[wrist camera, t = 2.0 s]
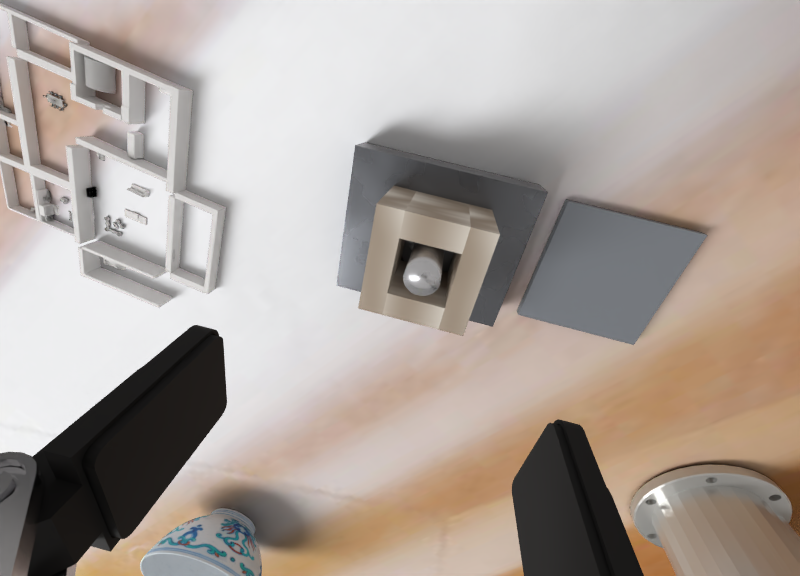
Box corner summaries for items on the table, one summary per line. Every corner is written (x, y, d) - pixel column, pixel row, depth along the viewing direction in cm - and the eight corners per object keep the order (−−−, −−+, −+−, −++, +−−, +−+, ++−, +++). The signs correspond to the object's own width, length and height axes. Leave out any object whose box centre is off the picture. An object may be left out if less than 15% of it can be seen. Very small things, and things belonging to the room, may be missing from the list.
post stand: (539, 184, 23) (575, 217, 16) (490, 309, 27) (500, 378, 20) (365, 142, 23) (323, 154, 16) (346, 271, 28) (307, 325, 21)
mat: (701, 232, 23) (707, 235, 22) (630, 340, 27) (633, 344, 26) (566, 199, 23) (568, 201, 22) (517, 310, 27) (518, 314, 27)
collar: (492, 209, 22) (499, 234, 17) (462, 296, 25) (463, 336, 20) (393, 185, 22) (376, 203, 17) (376, 273, 25) (358, 308, 20)
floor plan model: (273, 338, 33) (262, 350, 31) (24, 234, 32) (-1, 241, 30) (323, 144, 24) (312, 146, 22) (-18, -7, 23) (-57, -17, 22)
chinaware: (163, 494, 49) (115, 556, 42) (244, 482, 44) (205, 549, 38) (224, 554, 54) (190, 617, 48) (302, 549, 50) (276, 618, 43)
